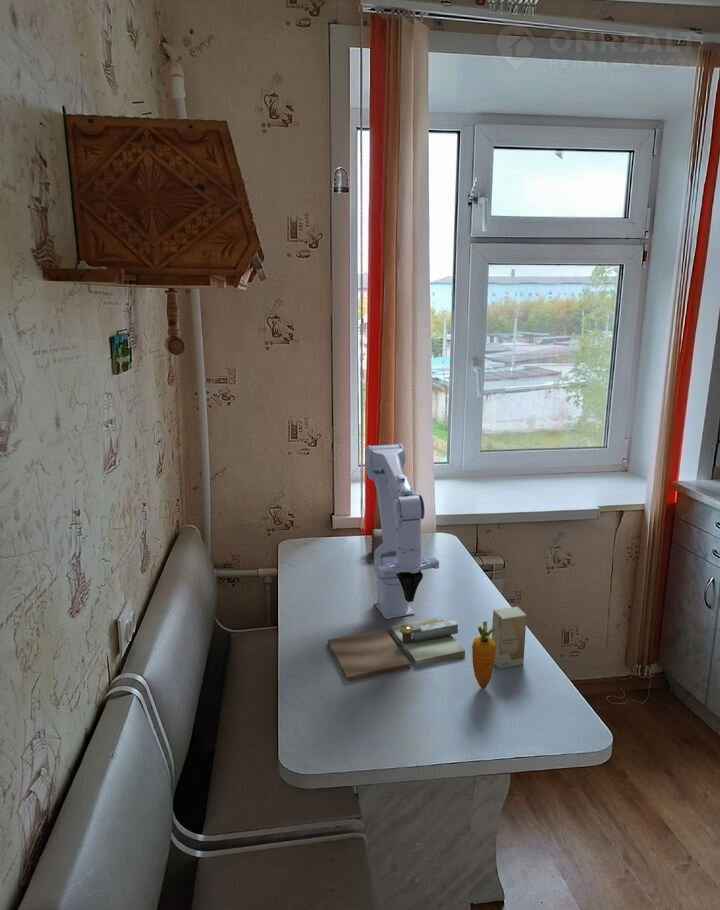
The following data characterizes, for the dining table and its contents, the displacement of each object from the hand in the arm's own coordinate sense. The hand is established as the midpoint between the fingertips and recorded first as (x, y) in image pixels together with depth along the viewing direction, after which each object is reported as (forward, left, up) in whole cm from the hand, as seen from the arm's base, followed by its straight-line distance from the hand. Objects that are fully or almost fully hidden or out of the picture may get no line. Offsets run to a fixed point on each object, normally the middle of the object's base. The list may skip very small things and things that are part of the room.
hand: (409, 600), depth 148 cm
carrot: (+23, +7, -11) cm, 26 cm away
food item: (-49, +15, -11) cm, 53 cm away
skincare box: (+16, +17, -11) cm, 26 cm away
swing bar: (+3, +3, -8) cm, 10 cm away
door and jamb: (+3, -5, -10) cm, 12 cm away
